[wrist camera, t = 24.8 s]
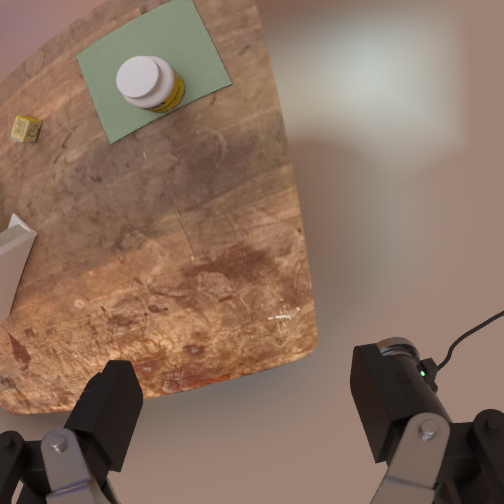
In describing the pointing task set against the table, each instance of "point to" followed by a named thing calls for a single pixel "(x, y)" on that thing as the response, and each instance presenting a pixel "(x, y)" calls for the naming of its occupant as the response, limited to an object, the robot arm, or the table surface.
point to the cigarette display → (13, 260)
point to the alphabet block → (25, 129)
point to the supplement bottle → (150, 84)
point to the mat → (151, 44)
